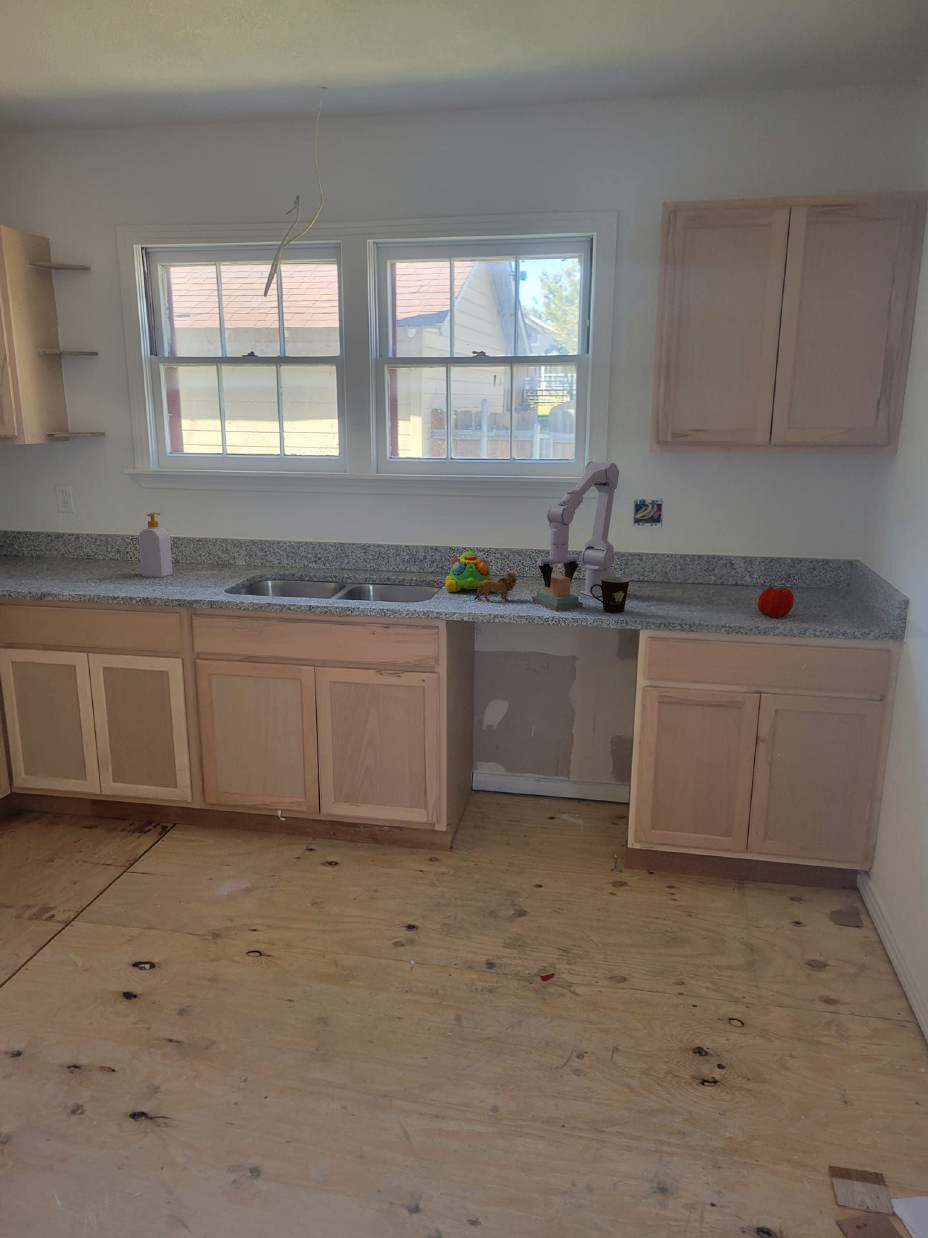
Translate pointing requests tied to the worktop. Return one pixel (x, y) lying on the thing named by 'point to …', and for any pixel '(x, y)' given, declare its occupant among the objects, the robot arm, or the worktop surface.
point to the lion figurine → (497, 586)
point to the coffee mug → (613, 593)
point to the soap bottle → (155, 550)
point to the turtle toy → (467, 573)
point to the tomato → (775, 601)
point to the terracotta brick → (559, 586)
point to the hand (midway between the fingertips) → (557, 586)
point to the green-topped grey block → (557, 601)
